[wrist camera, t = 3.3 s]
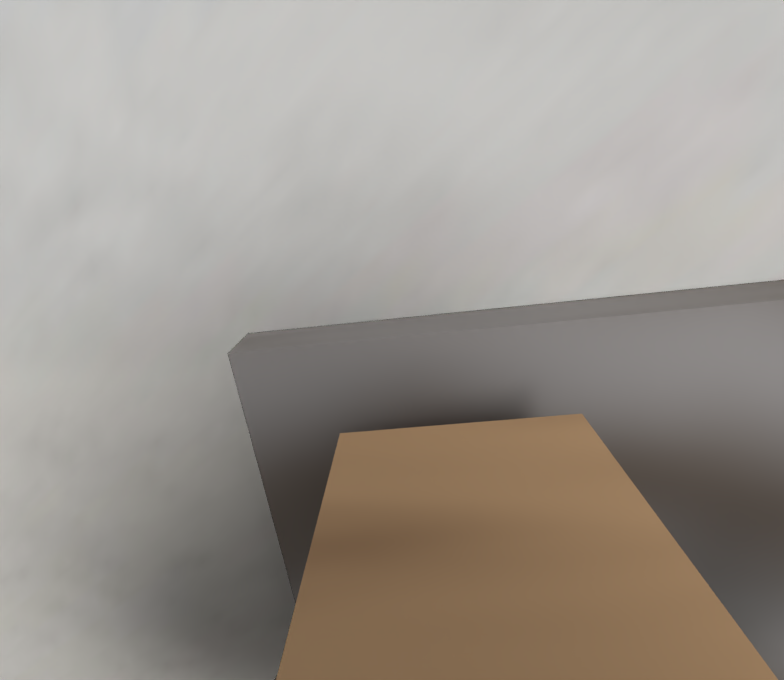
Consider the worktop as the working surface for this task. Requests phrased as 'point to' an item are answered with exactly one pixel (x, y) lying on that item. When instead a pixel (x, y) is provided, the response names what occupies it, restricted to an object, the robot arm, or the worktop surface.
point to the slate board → (559, 413)
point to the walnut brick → (501, 566)
